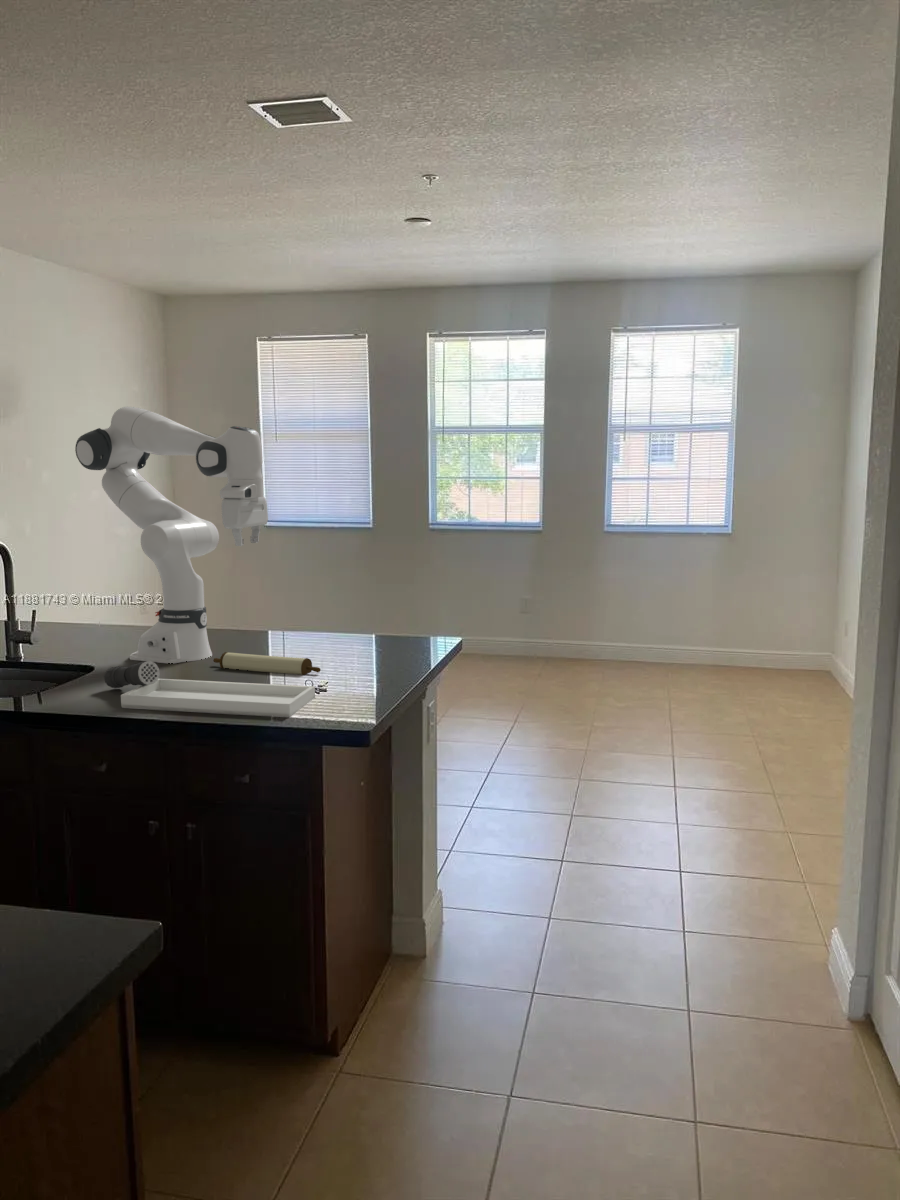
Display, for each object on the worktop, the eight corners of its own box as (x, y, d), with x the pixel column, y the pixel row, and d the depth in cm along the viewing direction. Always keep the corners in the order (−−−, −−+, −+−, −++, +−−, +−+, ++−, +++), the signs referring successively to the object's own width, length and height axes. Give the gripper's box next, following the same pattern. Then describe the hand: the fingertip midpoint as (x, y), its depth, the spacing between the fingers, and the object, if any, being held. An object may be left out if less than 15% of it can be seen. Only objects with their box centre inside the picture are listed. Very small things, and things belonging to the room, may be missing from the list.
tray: (121, 707, 196) (120, 694, 196) (158, 690, 212) (157, 678, 211) (289, 717, 188) (289, 704, 188) (315, 698, 204) (314, 686, 204)
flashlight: (97, 678, 210) (111, 661, 213) (113, 693, 212) (126, 676, 216) (135, 673, 200) (148, 656, 204) (150, 689, 203) (163, 671, 207)
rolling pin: (208, 671, 233) (207, 652, 233) (220, 666, 239) (219, 649, 238) (315, 680, 223) (315, 661, 222) (325, 675, 228) (325, 657, 227)
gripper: (250, 489, 235) (252, 541, 237) (216, 491, 215) (218, 547, 217) (273, 489, 234) (274, 541, 236) (240, 491, 214) (242, 547, 216)
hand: (247, 544), depth 226 cm, fingers open, 8 cm apart
